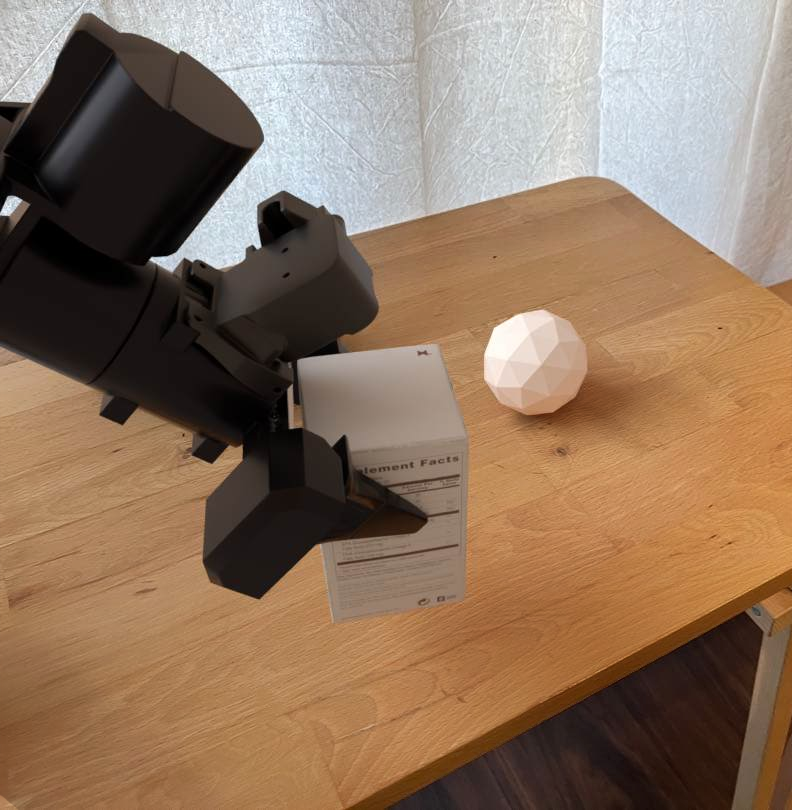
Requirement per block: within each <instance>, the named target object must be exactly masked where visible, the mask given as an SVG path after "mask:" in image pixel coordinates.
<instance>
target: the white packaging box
mask: <svg viewBox="0 0 792 810" xmlns="http://www.w3.org/2000/svg"><path fill="white" fill-rule="evenodd" d="M297 370H298V384H299V397H300V405H299V407H300V418H301V425H302V427H303V428H305V429H307V430H309V431H311V432H313V433H315V434H317V435H319V436H321V437H323V438H324V439H325V440H326V441H327V442H328V444H329V445H330V446H331V447H332V446H333V445H334V444H335V443H336V442H337V441H338V440H339V439H340V438H341V437H342V436H343V435H346V436H347V438H348V442H349V447H350V452H351V457H352V463H353V466H354V468H355V469H356V470H358V471H359V472H361V473H363V474H364V475H366V476H368V477H369V478H371V479H373V480H374V481H376V482H378V483H379V484H381V485H383V486H384V487H386V488H388V489H389V490H391V491H393V492H394V493H396V494H398V495H399V496H401V497H403V498H404V499H406V500H407V501H409V502H410V503H412V504H413V505H415V506H416V507H417V508H419V509H420V510H421V511H423V512H424V513H425V514H427V518H428V522H427V524H426V525H425V526H423V527H422V528H421V529H420V530H419V531H418V532H416V533H414V534H405V535H394V536H384V537H373V538H363V539H352V540H343V541H335V542H328V543H323V544H319V545H320V552H321V559H322V565H323V571H324V576H325V577H324V578H325V582H326V583H325V584H326V589H327V595H328V596H327V597H328V601H329V609H330V614H331V621H332V624H334V625H337V624H345V623H351V622H357V621H358V622H359V621H364V620H368V619H375V618H380V617H385V616H390V615H398V614H402V613H407V612H408V613H409V612H411V611H419V610H425V609H430V608H434V607H435V608H436V607H440V606H445V605H451V604H456V603H461V602H464V601H465V600H466V591H467V589H466V587H467V586H466V584H467V567H466V566H467V539H468V538H467V536H468V501H469V500H468V499H469V469H470V468H469V463H470V459H469V457H470V456H469V455H470V454H469V453H470V452H469V451H470V449H469V433H468V430H467V427H466V423H465V420H464V417H463V414H462V411H461V407H460V404H459V402H458V399H457V396H456V392H455V388H454V384H453V382H452V380H451V377H450V374H449V371H448V367H447V364H446V361H445V358H444V354H443V351H442V348H441V345H440V344H439V343H431V344H417V345H408V346H405V345H404V346H398V347H389V348H379V349H372V350H371V349H370V350H363V351H353V352H352V351H351V353H343V354H335V355H326V356H316V357H309V358H303V359H299V360H298V361H297Z"/></svg>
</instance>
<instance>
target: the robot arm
mask: <svg viewBox="0 0 792 810" xmlns="http://www.w3.org/2000/svg"><path fill="white" fill-rule="evenodd" d="M264 142H265V134H264V132H263V129H262V126H261V124H260V122H259V121H258V119H257V117H256V115H255V114H254V112H253V111H252V110H251V108H249V106H248V105H247V104H246V103H245V101H244V100H243V99H242V98H241V97H240V96H239V95H238V94H237V93H236V92H235V91H234V89H232V88H231V87H230V86H229V85H228V84H227V83H226V82H225V81H223V80H222V79H221V78H220V77H219V76H218V75H217V74H215V73H214V71H212V70H211V69H209V68H208V67H207V66H206V65H204V64H203V63H202V62H200V61H199V60H198V59H196V58H194V57H193V56H192V55H191V54H189V53H188V52H186V51H184V50H180V51H179V52H176V51H174V50H173V49H171V48H169V47H167V46H166V45H165V44H162V43H160V42H158V41H156V40H153V39H151V38H149V37H146V36H143V35H140V34H137V33H134V32H133V33H132V32H124V31H121V32H120V31H118V30H117V29H115V28H114V27H112V26H111V25H110V24H108V23H107V22H105V21H104V20H102V19H101V18H100V17H98V16H97V15H95V14H94V13H92V12H83V13H81V15H80V16H79V18H78V19H77V21H76V22H75V24H74V25H73V27H72V28H71V30H70V32H69V33H68V34H67V37H66V39H65V40H64V42H63V44H62V47H61V49H60V51H59V53H58V55H57V57H56V59H55V61H54V65H53V70H52V71H51V73H50V74H49V76H48V77H47V79H46V81H45V82H44V84H43V85H42V86H41V88H40V90H39V91H38V92H37V94H36V96H35V97H34V98H33V100H32V101H31V102H26V101H25V102H24V101H23V102H22V101H2V100H0V348H2V349H4V350H6V351H8V352H11V353H13V354H15V355H17V356H20V357H22V358H24V359H26V360H29V361H31V362H32V363H35V364H38V365H40V366H42V367H44V368H46V369H49V370H51V371H52V372H55V373H57V374H59V375H62V376H63V377H66V378H68V379H71V380H73V381H75V382H78V383H80V384H82V385H84V386H86V387H88V388H90V389H93V390H95V391H97V392H99V393H101V394H102V398H101V404H100V409H99V413H98V414H99V415H98V416H99V417H102V418H103V419H106V420H109V421H111V422H113V423H116V424H118V425H120V426H124V425H125V423H126V422H127V421H128V420H129V419H130V418H131V416H132V415H133V414H134V413H135V412H136V410H139V411H142V412H143V413H146V414H148V415H151V416H153V417H155V418H156V419H157V418H158V419H160V420H162V421H163V422H166V423H168V424H171V425H172V426H175V427H178V428H179V429H181V430H183V431H186V432H188V433H190V434H192V442H191V452H190V453H191V455H190V456H191V457H194V458H197V459H198V460H201V461H203V462H206V463H208V464H211V465H213V464H215V462H216V461H217V460H218V459H219V457H221V455H222V454H223V453H224V452H225V451H226V450H227V449H228V448H229V447H232V448H235V449H237V448H240V447H241V446H242V460H241V461H240V462H239V463H238V465H237V466H236V467H235V468H234V469H233V470H232V471H231V472H230V473H229V474H228V475H227V476H226V477H225V478H224V480H223V481H222V482H221V483H220V484H218V486H217V487H215V489H214V490H213V491H212V492H211V493H210V495H209V496H208V497H206V499H205V507H204V508H205V509H204V510H205V511H204V525H203V543H202V544H203V546H202V564H203V567H204V570H205V572H206V575H207V578H208V580H209V583H210V584H213V585H215V586H219V587H220V588H224V589H226V590H230V591H232V592H235V593H238V594H241V595H244V596H247V597H250V598H253V599H256V600H258V601H260V600H261V599H262V598H263V597H264V596H265V595H267V593H268V592H270V591H271V589H272V588H273V587H275V585H276V584H277V583H279V582H280V581H281V579H283V578H284V577H285V576H286V575H287V574H288V573H289V572H290V571H291V570H292V569H293V568H294V567H295V566H296V565H297V564H298V563H299V562H300V561H301V560H303V558H304V557H306V555H307V554H308V553H309V552H310V551H311V550H313V548H314V547H316V546H317V545H320V544H323V543H328V542H335V541H343V540H352V539H363V538H373V537H384V536H394V535H405V534H414V533H416V532H418V531H419V530H420V529H421V528H422V527H423V526H425V525H426V524H427V522H428V518H427V514H425V513H424V512H423V511H421V510H420V509H419V508H417V507H416V506H415V505H413V504H412V503H410V502H409V501H407V500H406V499H404V498H403V497H401V496H399V495H398V494H396V493H394V492H393V491H391V490H389V489H388V488H386V487H384V486H383V485H381V484H379V483H378V482H376V481H374V480H373V479H371V478H369V477H368V476H366V475H364V474H363V473H361V472H359V471H358V470H356V469H355V468H354V466H353V463H352V457H351V452H350V447H349V442H348V438H347V436H346V435H343V436H342V437H341V438H340V439H339V440H338V441H337V442H336V443H335V444H334V445H333V446H332V447H331V446H330V445H329V444H328V442H327V441H326V440H325V439H324V438H323V437H321V436H319V435H317V434H315V433H313V432H311V431H309V430H307V429H305V428H303V426H302V427H296V423H295V421H296V420H295V406H298V407H300V397H299V384H298V370H297V361H298V360H299V359H303V358H309V357H316V356H326V355H335V354H343V353H352V351H351V350H350V349H349V348H348V346H347V345H346V344H345V343H344V342H343V341H342V339H341V338H342V337H343V336H345V335H349V336H354V335H356V334H358V333H360V332H362V331H363V330H365V329H367V328H368V327H369V326H370V325H371V324H372V323H373V322H374V320H376V318H377V316H378V314H379V312H380V303H379V300H378V298H377V296H376V292H375V287H374V282H373V277H374V272H373V269H372V268H371V266H370V264H369V263H368V262H367V260H366V259H365V258H364V256H363V255H362V254H361V252H360V251H359V250H358V248H357V247H356V246H355V244H354V242H353V241H352V240H351V238H350V237H349V236H348V232H347V227H346V226H347V225H346V222H345V219H344V218H343V217H342V215H339V214H337V213H334V214H333V213H331V212H330V211H329V210H328V209H327V208H326V206H325V205H324V204H322V205H320V206H318V207H316V206H315V205H313V204H311V203H309V202H307V201H305V200H304V199H302V198H300V197H298V196H296V195H294V194H292V193H290V192H288V191H286V190H280V191H278V192H277V193H275V194H274V195H271V196H270V197H268V198H266V199H265V200H263V201H260V202H259V203H258V204H257V205H256V224H257V231H258V237H259V242H260V247H258V248H256V246H255V245H254V244H251V245H249V246H247V247H246V248H245V256H244V257H245V258H244V259H243V260H242V261H240V262H239V263H238V264H236V265H234V266H233V267H231V268H230V269H228V270H226V271H223V270H222V269H221V270H220V269H218V268H216V267H214V266H212V265H211V264H209V263H207V262H206V261H203V260H202V259H199V258H198V259H197V258H196V259H194V260H193V261H192V260H190V259H189V258H186V257H183V258H182V259H181V261H180V262H179V263H178V264H177V266H175V268H174V269H173V271H170V270H169V269H167V268H165V267H163V266H161V265H160V264H158V263H156V262H154V261H152V260H151V259H152V258H163V257H164V258H167V257H170V256H172V255H174V254H176V253H178V251H179V250H180V249H181V247H182V246H183V245H184V243H185V242H186V241H187V239H188V238H189V237H190V236H191V235H192V234H193V232H194V231H195V230H196V228H197V227H198V226H199V225H200V223H201V222H202V221H203V219H205V217H206V216H207V215H208V213H209V212H210V211H211V209H213V207H214V206H215V204H217V202H218V201H219V199H220V198H221V197H222V196H223V194H224V193H225V192H226V191H227V189H228V188H229V187H230V185H232V183H233V182H234V180H235V179H237V177H238V175H239V174H240V173H241V172H242V170H243V169H244V168H245V167H246V165H248V163H249V162H250V161H251V159H252V158H253V157H254V155H256V153H257V152H258V150H259V149H260V148H261V147H262V145H263V143H264ZM8 197H16V198H18V199H20V200H21V201H20V202H19V204H18V205H17V206H16V207H15V209H14V210H13V211H12V212H11V213H10V215H1V212H2V211H3V209H4V206H5V204H6V202H7V201H8Z"/></svg>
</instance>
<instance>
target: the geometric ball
mask: <svg viewBox="0 0 792 810" xmlns="http://www.w3.org/2000/svg"><path fill="white" fill-rule="evenodd" d="M586 347H587V346H586V344H585V343H584V341H583V339H582V338H581V336H580V334H578V332H577V330H576V329H575V327H574V326H573V324H572V323H571V321H570V320H567V319H565V318H563V317H561V316H558V315H557V314H554V313H552V312H550V311H548V310H545V309H539V310H533V311H528V312H523V313H517V314H516V315H514V316H512V317H511V318H509V319H507V320H505V321H504V322H502V323H500V324H499V325H497V326H495V327H494V328H493V330H492V333H491V336H490V338H489V341H488V342H487V346H486V349H485V351H484V354H483V374H484V375H483V376H484V377H483V378H484V381H485V383H486V384H487V386H488V387H489V389H490V391H492V393H493V394H494V396H495V397H496V399H497V400H498V402H499V403H500V405H503V406H505V407H507V408H510V409H512V410H514V411H516V412H518V413H521V414H522V415H526V416H535V415H542V414H550V413H554V412H556V411H557V410H558V409H561V408H562V407H563V406H564V405H566V404H567V403H569V402H571V400H573V399H575V398H576V397H577V396H578V395H577V394H578V393H579V390H580V388H581V387H582V384H583V382H584V380H585V378H586V376H587V373H588V358H587V348H586Z"/></svg>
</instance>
